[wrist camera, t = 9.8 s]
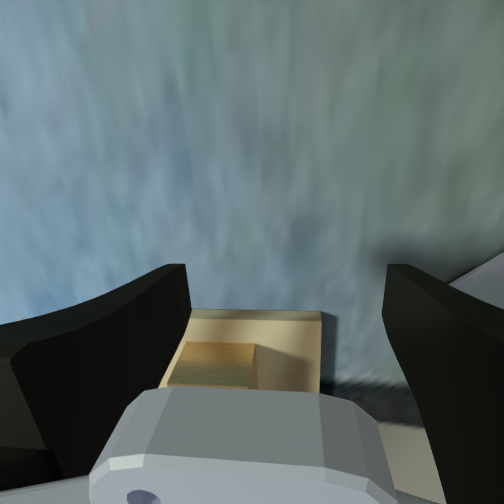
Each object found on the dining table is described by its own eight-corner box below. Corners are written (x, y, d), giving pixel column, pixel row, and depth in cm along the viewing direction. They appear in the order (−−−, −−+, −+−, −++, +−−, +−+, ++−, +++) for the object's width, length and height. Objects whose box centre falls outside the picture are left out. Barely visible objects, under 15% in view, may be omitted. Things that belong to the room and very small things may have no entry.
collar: (254, 343, 23) (247, 386, 20) (258, 396, 25) (252, 445, 21) (186, 341, 24) (166, 383, 20) (194, 393, 26) (178, 440, 22)
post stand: (320, 311, 23) (326, 355, 19) (317, 407, 26) (321, 461, 22) (129, 307, 25) (97, 347, 21) (150, 397, 28) (125, 446, 24)
